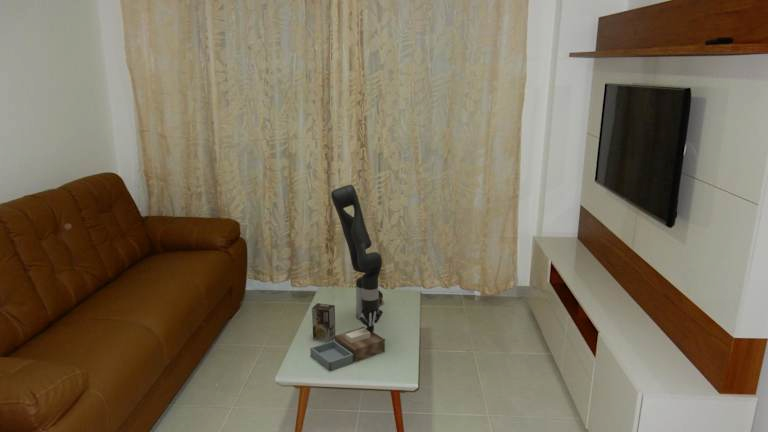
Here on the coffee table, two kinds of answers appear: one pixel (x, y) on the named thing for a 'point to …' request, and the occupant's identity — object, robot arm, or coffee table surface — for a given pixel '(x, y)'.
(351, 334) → the front tile
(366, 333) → the rear tile
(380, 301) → the decorative turtle
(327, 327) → the coffee box
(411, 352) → the coffee table surface
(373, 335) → the block
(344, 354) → the box
